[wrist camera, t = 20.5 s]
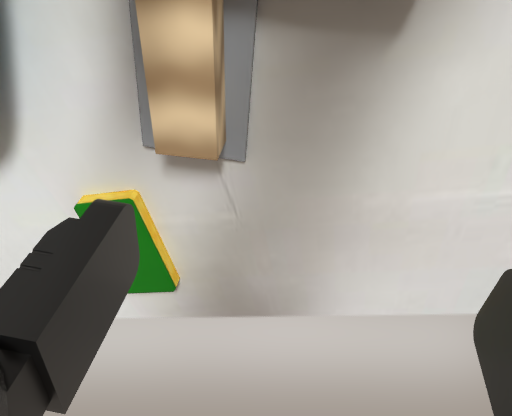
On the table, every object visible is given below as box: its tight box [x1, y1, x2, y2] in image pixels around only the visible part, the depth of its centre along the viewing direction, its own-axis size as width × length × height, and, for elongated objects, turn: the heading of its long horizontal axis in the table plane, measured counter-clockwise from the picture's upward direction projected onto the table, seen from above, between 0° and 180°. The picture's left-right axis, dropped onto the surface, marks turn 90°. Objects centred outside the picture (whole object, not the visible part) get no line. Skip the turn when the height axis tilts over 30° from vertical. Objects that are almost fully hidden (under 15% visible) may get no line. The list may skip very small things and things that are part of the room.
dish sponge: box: [74, 190, 180, 293], centre depth 50 cm, size 7×14×2 cm, turn 13°
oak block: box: [135, 0, 226, 160], centre depth 35 cm, size 14×6×4 cm, turn 178°
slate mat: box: [129, 0, 258, 162], centre depth 36 cm, size 17×10×1 cm, turn 175°
